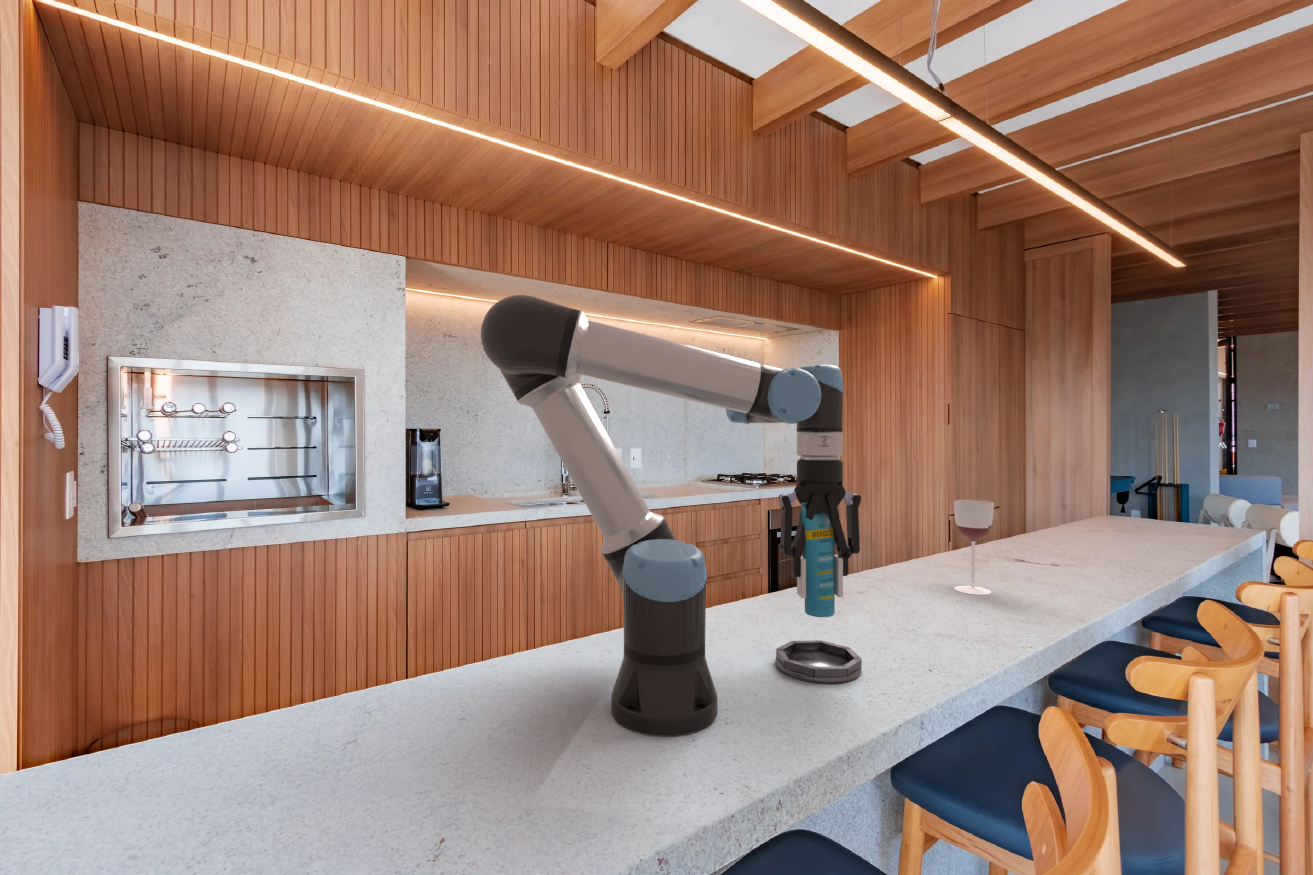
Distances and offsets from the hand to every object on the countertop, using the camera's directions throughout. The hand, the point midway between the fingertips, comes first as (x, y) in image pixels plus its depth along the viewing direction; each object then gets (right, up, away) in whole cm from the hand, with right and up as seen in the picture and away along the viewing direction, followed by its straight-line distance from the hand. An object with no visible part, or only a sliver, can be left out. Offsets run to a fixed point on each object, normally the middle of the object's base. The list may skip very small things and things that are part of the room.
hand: (819, 594), depth 105 cm
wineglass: (+51, -12, +50) cm, 73 cm away
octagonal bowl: (0, -12, 0) cm, 12 cm away
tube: (0, -3, 0) cm, 4 cm away
